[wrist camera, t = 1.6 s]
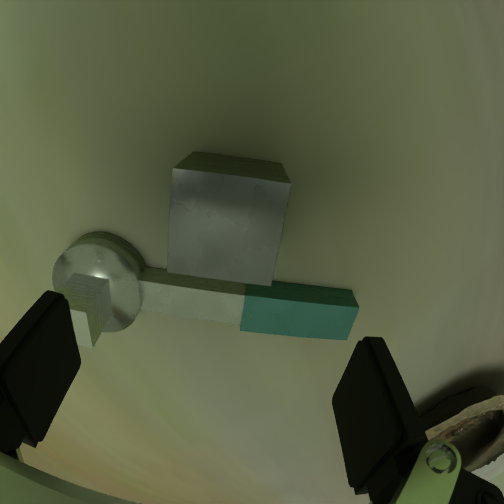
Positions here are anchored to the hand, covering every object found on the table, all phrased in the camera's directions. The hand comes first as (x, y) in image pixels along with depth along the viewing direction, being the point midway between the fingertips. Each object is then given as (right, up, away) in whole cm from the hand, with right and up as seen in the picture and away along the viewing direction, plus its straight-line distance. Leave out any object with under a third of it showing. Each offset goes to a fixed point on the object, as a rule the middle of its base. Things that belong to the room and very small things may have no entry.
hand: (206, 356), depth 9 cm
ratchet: (-3, 0, +17) cm, 17 cm away
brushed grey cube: (0, +7, +14) cm, 15 cm away
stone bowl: (+31, -23, +28) cm, 48 cm away
